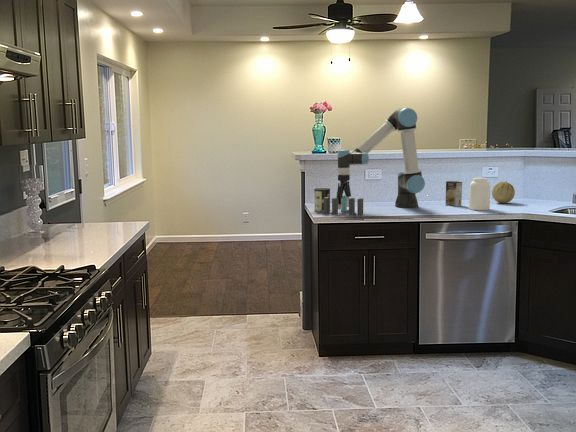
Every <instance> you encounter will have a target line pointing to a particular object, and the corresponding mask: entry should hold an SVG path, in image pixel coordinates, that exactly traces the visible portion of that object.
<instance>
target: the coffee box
mask: <svg viewBox="0 0 576 432" xmlns="http://www.w3.org/2000/svg"><path fill="white" fill-rule="evenodd" d="M462 198H463V181H460V180H458V181H457V180H446V181H445V206H451V207H459V206H462Z"/></svg>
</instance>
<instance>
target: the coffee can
mask: <svg viewBox="0 0 576 432" xmlns="http://www.w3.org/2000/svg"><path fill="white" fill-rule="evenodd" d="M313 190H314V191H313V192H314V211H315V212H323V213H324V198H325V197H330V198H331V188H329V187H328V188H327V187H321V188H320V187H318V188H314V189H313Z"/></svg>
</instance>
